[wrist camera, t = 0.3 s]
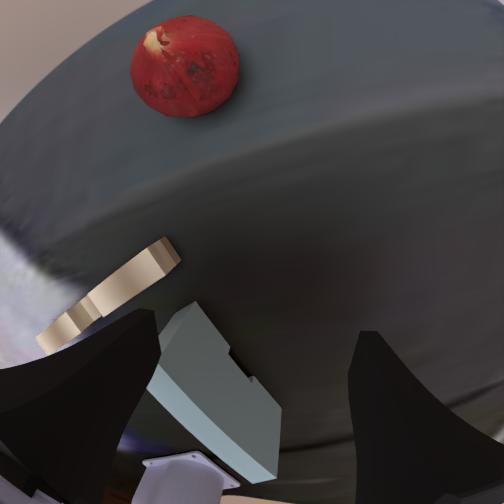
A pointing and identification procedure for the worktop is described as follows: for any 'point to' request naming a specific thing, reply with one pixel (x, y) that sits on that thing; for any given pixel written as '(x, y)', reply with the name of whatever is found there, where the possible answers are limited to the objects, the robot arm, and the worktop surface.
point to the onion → (185, 67)
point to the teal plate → (216, 396)
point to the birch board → (111, 294)
